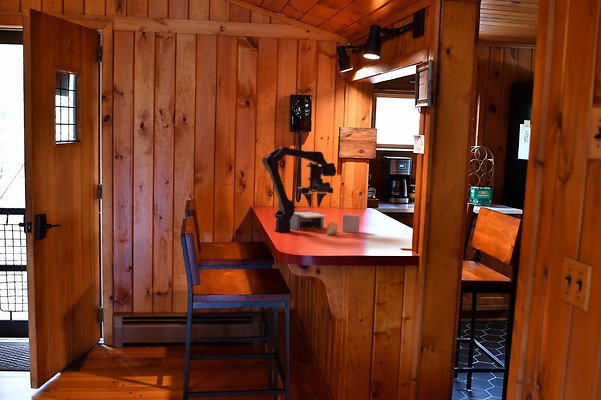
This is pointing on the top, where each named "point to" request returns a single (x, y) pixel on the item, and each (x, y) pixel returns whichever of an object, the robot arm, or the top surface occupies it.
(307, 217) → the trapdoor flap
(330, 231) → the cylinder
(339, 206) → the top surface
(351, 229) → the medicine box
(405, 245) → the top surface
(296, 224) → the trapdoor stand
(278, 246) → the top surface
